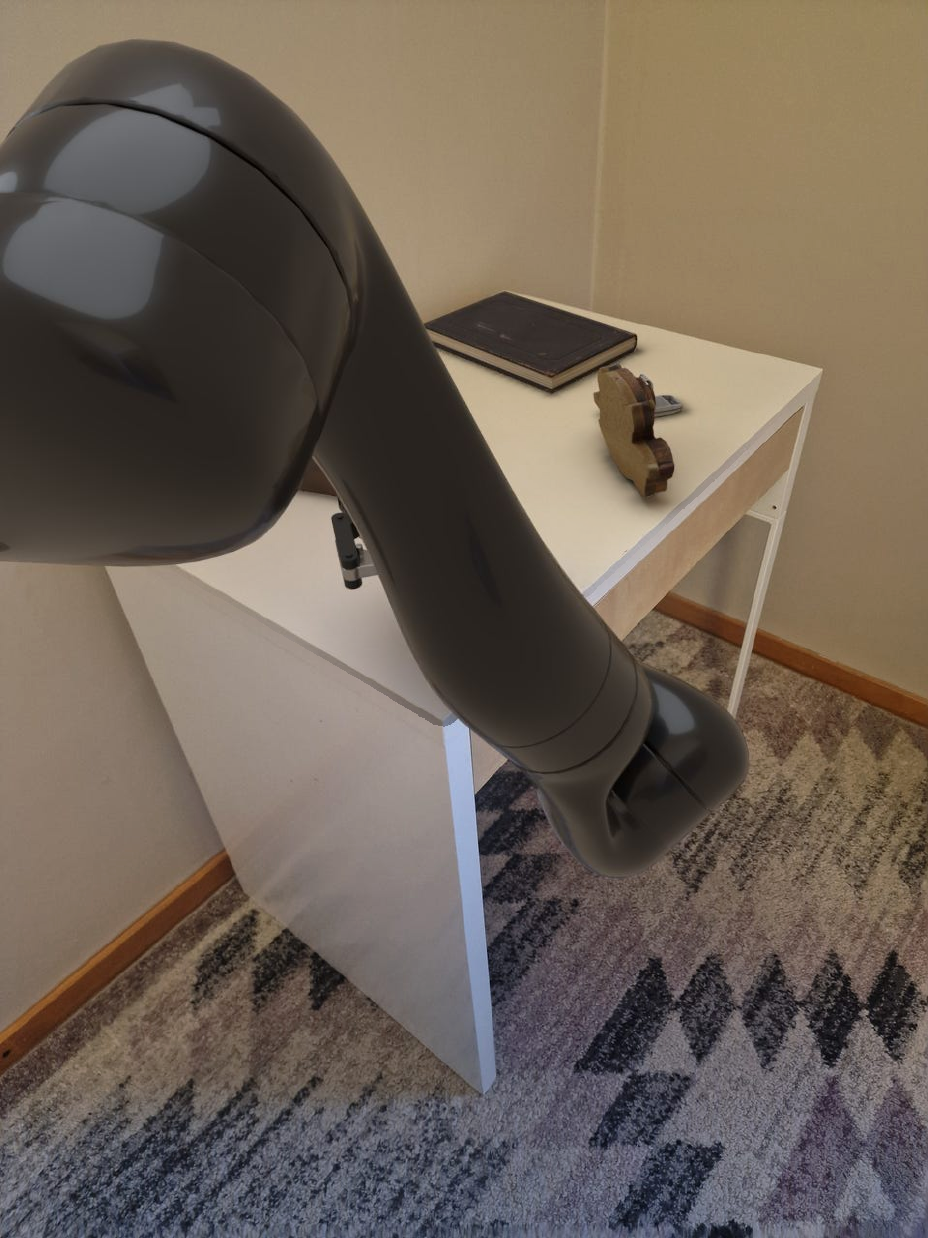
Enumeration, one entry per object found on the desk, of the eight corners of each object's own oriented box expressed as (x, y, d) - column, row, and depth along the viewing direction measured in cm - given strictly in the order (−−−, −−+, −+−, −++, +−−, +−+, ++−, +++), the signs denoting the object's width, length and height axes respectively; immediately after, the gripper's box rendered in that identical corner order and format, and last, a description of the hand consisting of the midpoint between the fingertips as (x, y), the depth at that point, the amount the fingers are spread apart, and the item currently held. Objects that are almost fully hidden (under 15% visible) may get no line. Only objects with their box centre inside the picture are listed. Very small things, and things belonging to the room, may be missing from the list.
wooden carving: (688, 506, 81) (701, 410, 74) (643, 516, 80) (653, 419, 74) (616, 428, 93) (622, 339, 86) (577, 435, 92) (580, 346, 86)
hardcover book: (551, 393, 100) (551, 375, 98) (422, 341, 113) (421, 324, 112) (637, 349, 108) (638, 331, 106) (507, 305, 121) (507, 289, 119)
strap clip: (670, 400, 97) (674, 365, 94) (683, 412, 95) (688, 376, 92) (601, 414, 96) (603, 378, 93) (613, 426, 93) (615, 390, 91)
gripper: (581, 516, 54) (456, 411, 66) (374, 590, 50) (280, 463, 61) (576, 607, 59) (461, 494, 71) (388, 682, 54) (298, 548, 66)
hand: (377, 480), depth 66 cm, fingers closed on carrot, 4 cm apart
